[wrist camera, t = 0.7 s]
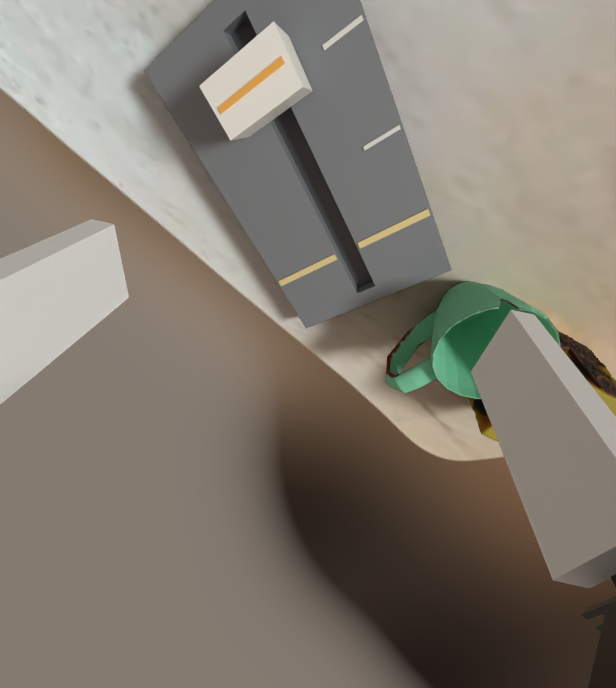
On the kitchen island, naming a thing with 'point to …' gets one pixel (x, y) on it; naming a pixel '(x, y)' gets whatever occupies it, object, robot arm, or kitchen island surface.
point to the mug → (456, 338)
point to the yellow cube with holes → (586, 363)
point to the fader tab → (257, 84)
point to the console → (311, 156)
